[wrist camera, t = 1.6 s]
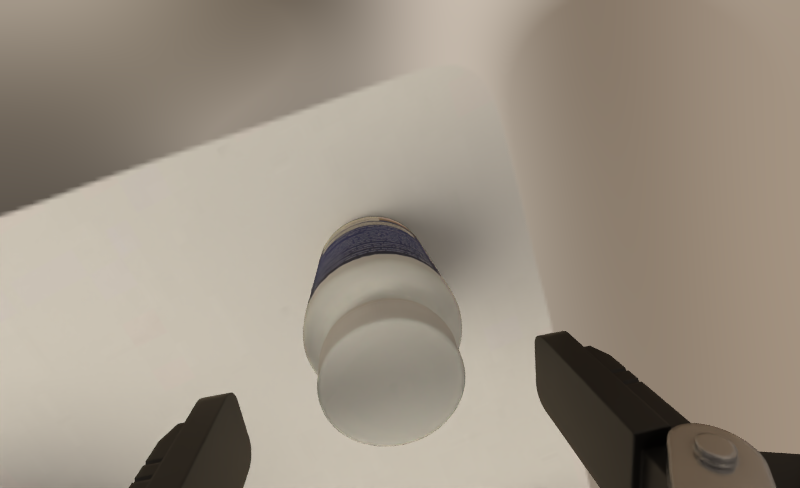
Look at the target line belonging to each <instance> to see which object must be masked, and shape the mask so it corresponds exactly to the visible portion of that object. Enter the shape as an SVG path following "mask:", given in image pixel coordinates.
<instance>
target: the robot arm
mask: <svg viewBox="0 0 800 488" xmlns="http://www.w3.org/2000/svg"><path fill="white" fill-rule="evenodd" d="M535 364H536V386H537V392H538V395H539V398H540V401H541V403H542V405H543V407H544V409H545V411H546V412H547V413H548V415H549V416H550V418H551V419H552V420H553V422H554V423H555V425H556V426H557V428H558V429H559V430H560V432H561V433H562V435H563V436H564V437H565V439H566V440H567V442H568V443H569V445H570V446H571V447H572V449H573V450H574V452H575V453H576V454H577V456H578V457H579V459H580V460H581V462H582V463H583V464H584V466H585V467H586V469H587V470H588V471H589V473H590V474H591V476H592V477H593V478H594V480H595V481H596V483H597V484H598V486H599V487H600V488H800V454H787V453H772V452H759V451H757V450H756V449H755V448H754V447H753V446H751V445H750V444H749V443H748V442H746V441H744V440H743V439H742V438H740V437H738V436H736V435H734V434H732V433H730V432H728V431H726V430H723V429H720V428H717V427H713V426H710V425H705V424H697V423H690V422H689V421H688V420H686V419H685V418H684V417H683V416H682V415H681V414H679V413H678V412H677V411H676V410H675V409H674V408H672V407H671V406H670V405H669V404H668V403H666V402H665V401H664V400H663V399H661V398H660V397H659V396H658V395H657V394H656V393H655V392H653V391H652V390H651V389H650V388H649V387H647V386H646V385H645V384H643V382H639V380H638V378H636V377H635V376H634V375H633V374H632V373H631V372H630V371H626V369H625V367H624V366H622V365H621V364H620V363H619V362H618V361H616V360H615V359H614V358H613V357H612V356H610V355H609V354H606V353H604V352H602V351H600V350H598V349H595V348H593V347H591V346H587V347H583V346H582V345H581V344H580V343H579V342H578V341H577V340H576V339H574V338H573V337H572V336H571V335H570V334H569V333H568V332H566V331H561V332H556V333H550V334H545V335H540V336H537V337H536V339H535ZM250 463H251V444H250V439H249V436H248V433H247V430H246V426H245V423H244V420H243V417H242V413H241V410H240V407H239V404H238V400H237V398H236V396H235V395H234V394H233V393H226V394H221V395H216V396H210V397H205V398H201V399H199V400H198V401H197V403H196V404H195V406H194V408H193V409H192V411H191V413H190V414H189V416H188V418H187V419H186V421H185V423H180V424H177V425H176V426H175V427H174V428H173V429H172V430H171V431H170V432H169V433H168V434H167V435H165V436H164V437H163V438H162V439H161V440H160V441H159V442H158V443H157V445H156V447H155V448H154V450H153V451H152V453H151V454H150V456H149V457H148V459H147V460H146V465H144V466H143V467H142V468H141V470H140V471H139V473H138V474H137V476H136V477H135V482H134V483H132V484H131V485H130V487H129V488H243V487H244V484H245V481H246V477H247V474H248V471H249V468H250Z"/></svg>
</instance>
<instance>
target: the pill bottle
mask: <svg viewBox="0 0 800 488" xmlns="http://www.w3.org/2000/svg"><path fill="white" fill-rule="evenodd" d="M461 335H462V321H461V315H460V310H459V307H458V304H457V302H456V299H455V297H454V295H453V294H452V292H451V290H450V288H449V287H448V285H447V284H446V282H445V281H444V279H443V278H442V276H441V275H440V273H439V271H438V270H437V268H436V267H435V265H434V264H433V262H432V260H431V259H430V257H429V256H428V254H427V253H426V251H425V250H424V248H423V247H422V245H421V243H420V242H419V241H418V239H417V238H416V236H415V235H414V234H413V233H412V232H411V231H410V230H409V229H408V228H406V227H405V226H404V225H402V224H400V223H399V222H397V221H394V220H392V219H388V218H384V217H365V218H360V219H357V220H354V221H352V222H349V223H347V224H345V225H344V226H342V227H341V228H340V229H338V230H337V231H336V232H335V233H334V234H333V235H332V236H331V238H330V239H329V240H328V242H327V243H326V245H325V247H324V249H323V251H322V254H321V257H320V260H319V265H318V269H317V273H316V276H315V280H314V284H313V287H312V290H311V295H310V299H309V302H308V306H307V309H306V314H305V319H304V326H303V341H304V347H305V352H306V355H307V358H308V360H309V362H310V364H311V366H312V368H313V369H314V371H315V373H316V374H317V375H318V380H317V392H318V398H319V402H320V405H321V407H322V410H323V412H324V414H325V416H326V418H327V419H328V420H329V422H330V423H331V424H332V425H333V426H334V427H335V428H336V429H337V430H338V431H339V432H341V433H342V434H344V435H345V436H347V437H349V438H351V439H353V440H355V441H357V442H361V443H364V444H369V445H374V446H396V445H404V444H407V443H411V442H414V441H417V440H419V439H422V438H424V437H426V436H428V435H429V434H431V433H432V432H434V431H436V430H437V429H438V428H439V427H441V426H442V425H443V424H444V423H445V422H446V421H447V420H448V419H449V417H450V416H451V415H452V414H453V413H454V411H455V409H456V408H457V406H458V404H459V402H460V400H461V398H462V395H463V391H464V385H465V370H464V364H463V360H462V357H461V355H460V352H459V350H458V349H459V346H460V341H461Z"/></svg>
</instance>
